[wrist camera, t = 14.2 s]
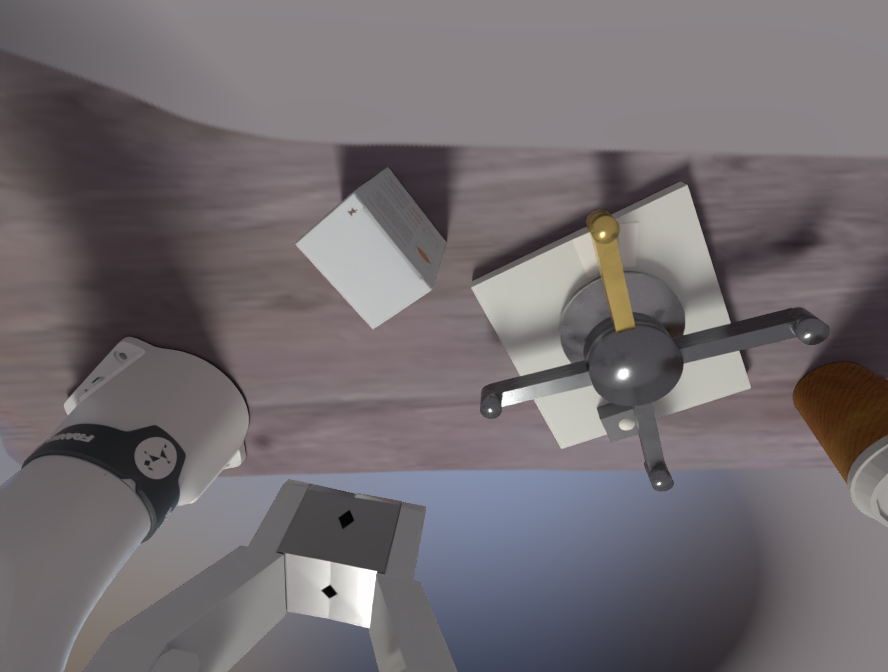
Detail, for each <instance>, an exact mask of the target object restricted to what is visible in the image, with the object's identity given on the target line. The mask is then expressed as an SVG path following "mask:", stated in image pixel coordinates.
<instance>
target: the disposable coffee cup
mask: <svg viewBox="0 0 888 672" xmlns="http://www.w3.org/2000/svg"><path fill="white" fill-rule="evenodd" d="M793 401H794V405H795V407H796V409H797V410H798V411H799V413H800V414H801V416H802V417H803V419H804V420H805V422H806V423H807V425H808V426H809V428H810V429H811V431H812V432H813V434H814V435H815V437H816V438H817V440H818V441H819V443H820V444H821V446H822V447H823V449H824V450H825V452H826V453H827V455H828V456H829V458H830V459H831V461H832V462H833V464H834V465H835V467H836V468H837V470H838V471H839V473H840V474H841V476H842V477H843V479H844V480H845V482H846V483H847V485H848V489H849V492H850V496H851V499H852V501H853V503H854V504H855V506H856V507H857V508H858V509H859V510H860V511H861V512H862V513H864V514H865V515H867V516H869V517H871V518H874V519H876V520H878V521H879V522H880V523H882V524H884V525H885V526H887V527H888V381H886V379H884V378H882V377H880V376H879V375H877V374H874V373H873V372H871V371H869V370H868V369H866V368H864V367H862V366H861V365H858V364H856V363H850V362H837V363H831V364H827V365H824V366H821V367H819V368H817V369H815V370H813V371H812V372H810V373H808V374H807V375H806V376H805V377H804V378H803V379H802V380H801V381H800V382H799V383H798V385H797V386H796V388H795V391H794V393H793Z"/></svg>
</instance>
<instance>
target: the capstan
mask: <svg viewBox="0 0 888 672" xmlns="http://www.w3.org/2000/svg"><path fill="white" fill-rule="evenodd" d="M586 228H587V229H588V231H589V232H590V235H591V239H592V243H593V247H594V251H595V256H596V260H597V264H598V268H599V272H600V276H599V277H597V278H595V279H593V280H591V281H589V282H588V283H586V284H584V285H583V286H582V287H581V288H579V289H578V290H577V291H576V292H575V293H574V294H573V295H572V296H571V298H570V299H569V300H568V302H567V304H566V305H565V307H564V309H563V312H562V314H561V318H560V322H559V336H560V341H561V345H562V348H563V351H564V353H565V355H566V357H567V358H568V360H569V361H570V362H571V364H567V365H563V366H559V367H555V368H551V369H547V370H543V371H539V372H535V373H531V374H527V375H524V376H520V377H516V378H512V379H508V380H504V381H500V382H496V383H492V384H489V385H487V386H485V387H484V388H483V389H482V391H481V404H480V412H481V414H482V415H483V416H484V417H486V418H489V419H493V418H497V417H498V416H499V415H500V414H501V411H502V407H503V406H507V405H511V404H515V403H520V402H524V401H528V400H532V399H536V398H541V397H545V396H549V395H553V394H558V393H562V392H566V391H570V390H575V389H579V388H583V387H587V386H591V385H593V387H594V389H595V390H596V392H597V393H598V394H599V395H600V396H601V397H602V398H604V399H605V400H607V401H609V402H611V403H614V404H617V405H622V406H632V409H633V413H634V417H635V421H636V426H637V430H638V434H639V438H640V442H641V446H642V451H643V455H644V459H645V462H644V466H645V469H646V471H647V474H648V477H649V479H650V482H651V484H652V487H653V488H654V489H655V490H658V491H667V490H669V489H670V488H672V487H673V484H674V482H673V480H672V477H671V475H670V473H669V471H668V468H667V466H666V464H665V461H664V457H663V452H662V448H661V443H660V438H659V434H658V429H657V424H656V420H655V415H654V411H653V406H652V402H654V401H657V400H659V399H661V398H662V397H664V396H665V395H667V394H668V393H669V392H670V391H671V390H672V389H673V388H674V387H675V386H676V385H677V383H678V381H679V380H680V378H681V375H682V372H683V366H684V364H685V363H689V362H693V361H697V360H702V359H706V358H710V357H714V356H718V355H723V354H727V353H731V352H735V351H740V350H744V349H748V348H752V347H757V346H761V345H765V344H769V343H774V342H778V341H782V340H786V339H790V338H795V337H797V338H799V339H800V340H801V341H802V342H803V343H805V344H808V345H815V344H818V343H821V342H822V341H824V340H825V339H826V338H827V337H828V335H829V333H830V328H829V326H828V325H827V324H826V323H824V322H823V321H821V320H820V319H819V318H817V317H816V316H814V315H813V314H811V313H810V312H809V311H807V310H806V309H804V308H801V307H797V308H793V309H792V308H789V309H786V310H782V311H778V312H774V313H770V314H766V315H762V316H758V317H754V318H750V319H746V320H742V321H738V322H734V323H730V324H726V325H722V326H718V327H714V328H710V329H706V330H702V331H698V332H694V333H690V334H686V335H683V334H684V330H685V313H684V309H683V306H682V304H681V302H680V300H679V298H678V297H677V295H676V294H675V293H674V292H673V291H672V290H671V289H670V287H669V286H668V285H667V284H665V283H664V282H663V281H662V280H660V279H658V278H656V277H654V276H652V275H649V274H646V273H642V272H637V271H623V267H622V263H621V258H620V253H619V249H618V244H617V240H616V238H617V237H618V235H619V233H620V226H619V223H618V222H617V221H616V220H615V219H614V217H613V216H612V215H611V214H610V213H609V212H608V211H607V210H604V209H596V210H594V211H592V212H591V213H590V214H589V215H588V216H587V218H586ZM591 382H592V383H591Z"/></svg>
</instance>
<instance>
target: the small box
mask: <svg viewBox="0 0 888 672" xmlns="http://www.w3.org/2000/svg"><path fill="white" fill-rule="evenodd" d="M446 244H447V243H446V241H445V240H444V239H443V237H442V236H441V235H440V234H439V232H438V231H437V230H436V228H435V227H434V226H433V225H432V223H431V222H430V221H429V219H428V218H427V217H426V215H425V214H424V213H423V212H422V210H421V209H420V208H419V206H418V205H417V204H416V202H415V201H414V200H413V199H412V197H411V196H410V195H409V193H408V192H407V191H406V190H405V188H404V187H403V186H402V184H401V183H400V182H399V180H398V179H397V178H396V177H395V175H394V174H393V173H392V171H391V170H390V168H388V167H387V168H385V169H384V170H383V171H381V172H380V173H379V174H377V175H376V176H375V177H373V178H372V179H371V180H369V181H368V182H366V183H365V184H363V185H362V186H360V187H359V188H358V189H356V190H355V191H354V192H353V193H351V194H350V195H349V196H348V197H346V198H345V199H344V200H343V201H342V202H341V203H339V204H338V205H337V206H336V207H335V208H334V209H332V210H331V211H330V212H329V213H328V214H327V215H325V216H324V217H323V218H322V219H321V220H320V221H319V222H318V223H316V224H315V225H314V226H313V227H312V228H311V229H310V230H309V231H308V232H307V233H305V234H304V235H303V236H302V237H301V238H300V239H299V240H298V241H297V242H296V243H295V245H296V246H297V247H298V248H299V249H300V250H301V252H302V253H303V254H304V255H305V256H306V257H307V258H308V259H309V260H310V261H311V263H312V264H313V265H314V266H315V267H316V268H317V269H318V270H319V271H320V272H321V273H322V275H323V276H324V277H325V278H326V279H327V280H328V281H329V282H330V283H331V284H332V285H333V287H334V288H335V289H336V290H337V291H338V292H339V293H340V294H341V295H342V296H343V297H344V299H345V300H346V301H347V302H348V303H349V304H350V305H351V306H352V307H353V308H354V310H355V311H356V312H357V313H358V314H359V315H360V316H361V317H362V318H363V319H364V321H365V322H366V323H367V324H368V325H369V326H370V327H371V328H372V329H375V328H376V327H377V326H379V325H380V324H382V323H383V322H385V321H387V320H388V319H390V318H391V317H393V316H394V315H395V314H397V313H398V312H400V311H401V310H403V309H404V308H406V307H407V306H409V305H410V304H412V303H413V302H415V301H416V300H418V299H419V298H421V297H422V296H424V295H425V294H427V293H428V292H430V291H431V290H432V289H433V286H434V283H435V279H436V276H437V273H438V270H439V267H440V263H441V260H442V257H443V254H444V250H445V247H446Z"/></svg>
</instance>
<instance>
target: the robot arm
mask: <svg viewBox="0 0 888 672" xmlns="http://www.w3.org/2000/svg"><path fill="white" fill-rule="evenodd" d="M64 408H65V411H66V413H67V415H68V416H67V417H66V418H65V419H64V421H63V422H62V423H61V424H60V425H59V426H58V427H57V429H56V430H55V431H54V432H53V433H52V435H51V436H50V439H48V440H46V441H45V442H43V443H42V444H41V445H40V446H39V447H38V448H37V449H35V450H34V452H33V453H32V454H31V455H30V456H29V457H28V458H27V459H26V460H25V462H24V463H23V465H22V468H21V470H20V471H18V472H17V473H16V474H14V475H13V476H12V477H11V478H9V479H8V480H7V481H6V482H4V483H3V484H2V485H1V486H0V672H64V669H65V665H66V663H67V660H68V657H69V654H70V651H71V649H72V646H73V644H74V641H75V639H76V637H77V635H78V633H79V631H80V629H81V627H82V626H83V624H84V622H85V620H86V618H87V617H88V615H89V614H90V612H91V610H92V609H93V607H94V606H95V605H96V603H97V602H98V600H99V598H100V597H101V595H102V594H103V593H104V591H105V590H106V588H107V587H108V586H109V584H110V583H111V581H112V580H113V578H114V577H115V575H116V574H117V573H118V572H119V570H120V569H121V568H122V566H123V565H124V564H125V562H126V561H127V560H128V558H129V557H130V556H131V554H132V553H133V552H134V551H135V549H136V548H137V547H138V546H139V544H141V543H143V542H145V541H147V540H148V539H149V538H151V537H152V535H153V534H154V533H155V532H156V531H157V530H158V529H160V527H162V525H163V524H164V523H165V522H166V520H167V519H168V518H169V516H170V514H171V512H172V511H173V510H174V509H175V507H176V506H180V505H185V504H187V503H193V502H195V501H196V500H197V499H198V498H199V497H200V496H201V495H202V494H203V492H204V491H205V490H206V489H207V488H208V487H209V485H210V484H211V483H212V482H213V481H214V480H215V478H216V477H217V476H218V475H219V474H220V473H221V471H222V470H223V469H227V468H232V467H237V466H239V465H240V464H241V463H242V462H243V461H244V460H245V458H246V452H245V446H244V438H245V435H246V432H247V430H248V425H249V415H248V410H247V406H246V404H245V401H244V399H243V397H242V395H241V394H240V392H239V391H238V389H237V388H236V386H235V385H234V384H233V383H232V382H231V381H230V379H229V378H228V377H227V376H225V375H224V374H223V373H222V372H221V371H220V370H218V369H217V368H216V367H214V366H213V365H211V364H210V363H208V362H206V361H204V360H203V359H201V358H199V357H196V356H194V355H191V354H188V353H185V352H181V351H177V350H170V349H163V348H158V347H154V346H152V345H150V344H148V343H146V342H144V341H141V340H139V339H136V338H133V337H125V338H124V339H123V340H121V341H120V342H119V343H118V344H117V345H116V346H115V347H114V348H113V349H112V351H111V352H110V353H109V354H108V355H107V356H106V357H105V358H104V359H103V360H102V362H101V363H100V364H99V365H98V366H97V367H96V368H95V369H94V370H93V371H92V373H91V374H90V375H89V376H88V377H87V378H86V379H85V380H84V381H83V382H82V384H81V385H80V386H79V387H78V388H77V389H76V390H75V391H74V392H73V393H72V395H71V396H70V397H69V398H68V399H67V400H66V401H65V403H64ZM425 512H426V506H420V505H416V504H410V503H406V502H403V503H402V501H397V500H392V499H386V498H381V497H375V496H370V495H365V494H359V493H358V494H354V493H350V492H346V491H341V490H337V489H332V488H328V487H323V486H319V485H314V484H309V483H304V482H299V481H295V480H290V479H288V481H286V482H285V484H283V486H282V488H281V489H280V491H279V493H278V494H277V496H276V498H275V500H274V502H273V503H272V505H271V507H270V509H269V511H268V512H267V514H266V516H265V518H264V520H263V521H262V523H261V525H260V527H259V529H258V530H257V532H256V534H255V536H254V537H253V539H252V541H251V543H250V545H249V546H248V547H246V546H240V547H238V548H237V549H235V550H234V551H232V552H231V553H229V554H228V555H226V556H225V557H223V558H222V559H220V560H219V561H217V562H216V563H214V564H213V565H211V566H210V567H208V568H207V569H205V570H204V571H202V572H201V573H199V574H198V575H196V576H195V577H193V578H192V579H190V580H189V581H187V582H186V583H184V584H183V585H181V586H180V587H178V588H177V589H175V590H174V591H172V592H171V593H169V594H168V595H166V596H165V597H163V598H162V599H160V600H159V601H157V602H156V603H154V604H153V605H151V606H150V607H148V608H147V609H145V610H144V611H142V612H141V613H139V614H138V615H136V616H135V617H133V618H132V619H130V620H129V621H127V622H126V623H124V624H123V625H121V626H120V627H118V628H117V629H115V630H114V631H112V632H111V633H110V634H109V635H108V637H107V638H106V640H105V641H104V642H103V644H102V645H101V646H100V648H99V649H98V650H97V652H96V653H95V655H94V656H93V657H92V659H91V660H90V661H89V663H88V664H87V666H86V667H85V668H84V670H83V671H82V672H227V671H228V670H229V669H230V668H231V667H232V666H233V665H234V664H235V663H236V662H237V661H238V660H240V658H241V657H243V656H244V655H245V654H246V653H247V652H248V651H249V650H250V649H251V648H252V647H253V646H254V645H255V644H256V643H257V642H258V641H259V640H260V639H261V638H262V637H263V636H264V635H265V634H266V633H267V632H268V631H269V630H270V629H272V628H273V627H274V625H276V624H277V623H278V622H279V621H280V620H281V619H282V618H283V617H284V616H285V615H286V611H288V612H294V613H300V614H305V615H311V616H317V617H323V618H329V619H333V620H337V621H341V622H345V623H350V624H354V625H358V626H362V627H367V628H370V629H369V632H370V636H371V640H372V644H373V648H374V652H375V656H376V660H377V664H378V668H379V672H457V670H456V667H455V665H454V663H453V660H452V658H451V655H450V653H449V650H448V648H447V645H446V643H445V640H444V638H443V636H442V633H441V631H440V628H439V626H438V623H437V621H436V619H435V616H434V614H433V611H432V609H431V606H430V604H429V601H428V599H427V596H426V594H425V591H424V589H423V587H422V585H421V582H419V581H416V580H413V579H414V573H415V568H416V562H417V556H418V551H419V544H420V540H421V534H422V529H423V523H424V517H425Z"/></svg>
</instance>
